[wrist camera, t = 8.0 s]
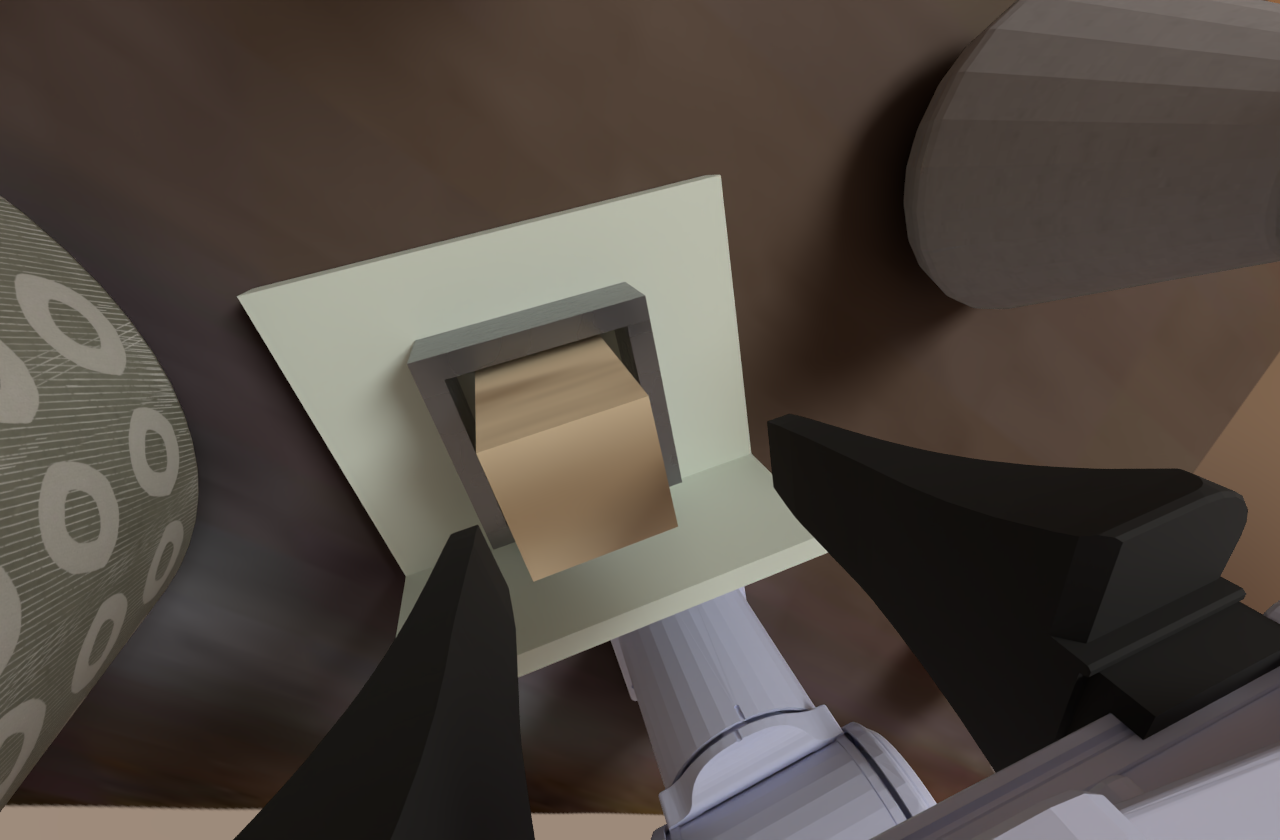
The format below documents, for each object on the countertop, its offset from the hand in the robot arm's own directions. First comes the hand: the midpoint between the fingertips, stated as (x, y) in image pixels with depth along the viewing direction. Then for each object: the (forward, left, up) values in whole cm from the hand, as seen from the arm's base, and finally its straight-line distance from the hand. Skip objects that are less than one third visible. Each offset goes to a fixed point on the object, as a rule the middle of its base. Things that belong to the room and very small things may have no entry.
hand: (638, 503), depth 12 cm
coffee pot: (-1, -23, -10) cm, 25 cm away
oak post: (0, +1, -9) cm, 9 cm away
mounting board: (-1, +1, -10) cm, 10 cm away
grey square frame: (-2, +1, -9) cm, 9 cm away
